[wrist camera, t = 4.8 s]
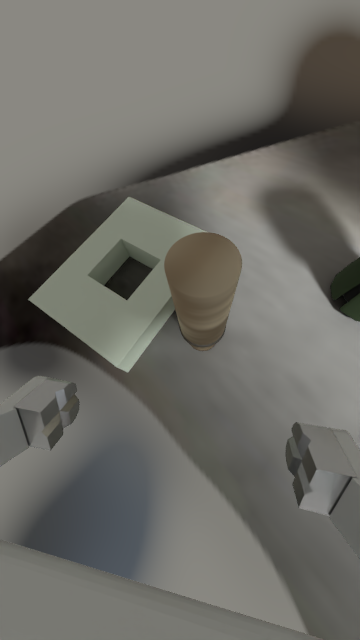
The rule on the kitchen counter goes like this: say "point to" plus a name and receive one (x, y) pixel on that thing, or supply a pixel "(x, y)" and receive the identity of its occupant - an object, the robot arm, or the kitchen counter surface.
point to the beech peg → (202, 285)
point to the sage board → (99, 266)
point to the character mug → (348, 289)
